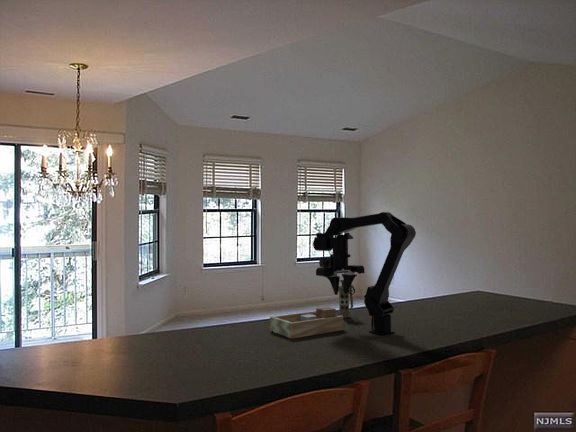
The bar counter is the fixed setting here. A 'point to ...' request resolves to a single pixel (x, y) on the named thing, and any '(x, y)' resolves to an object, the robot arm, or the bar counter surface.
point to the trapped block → (307, 317)
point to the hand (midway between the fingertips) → (340, 294)
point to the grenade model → (345, 301)
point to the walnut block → (325, 312)
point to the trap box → (304, 325)
